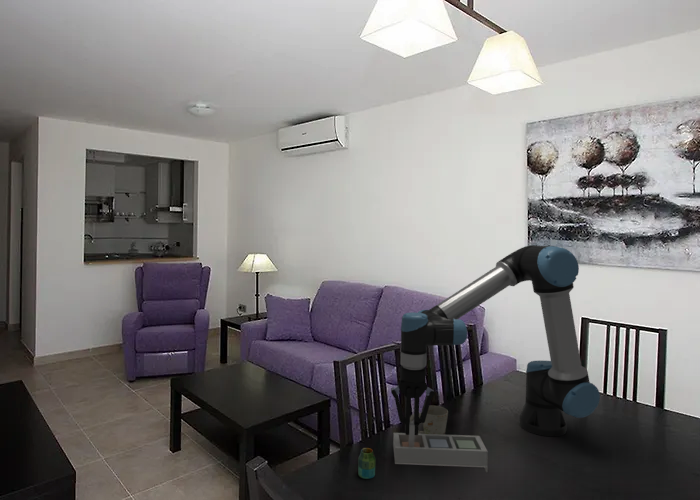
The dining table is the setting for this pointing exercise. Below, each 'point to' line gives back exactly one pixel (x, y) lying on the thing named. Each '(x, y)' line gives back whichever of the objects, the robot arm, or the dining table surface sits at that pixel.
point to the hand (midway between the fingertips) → (411, 445)
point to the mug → (434, 420)
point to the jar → (366, 463)
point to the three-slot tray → (440, 451)
